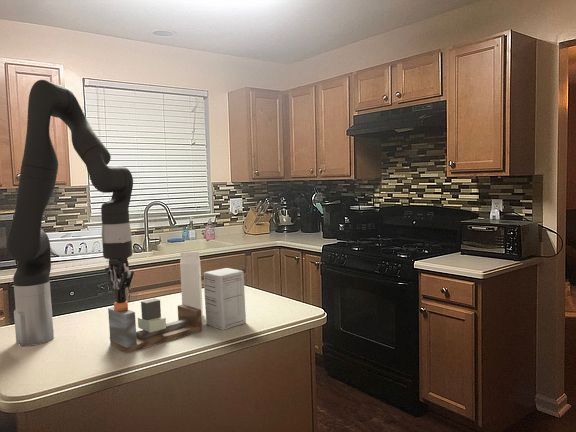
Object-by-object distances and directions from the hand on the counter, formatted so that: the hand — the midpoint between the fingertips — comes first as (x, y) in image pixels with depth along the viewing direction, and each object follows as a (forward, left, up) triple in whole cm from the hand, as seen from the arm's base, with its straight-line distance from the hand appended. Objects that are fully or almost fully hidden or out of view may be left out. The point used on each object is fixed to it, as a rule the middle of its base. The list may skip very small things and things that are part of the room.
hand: (121, 302), depth 130 cm
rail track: (+10, 0, -13) cm, 16 cm away
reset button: (0, 0, -2) cm, 2 cm away
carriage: (+9, 0, -9) cm, 13 cm away
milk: (+28, +9, -13) cm, 32 cm away
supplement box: (+31, -5, -13) cm, 34 cm away
